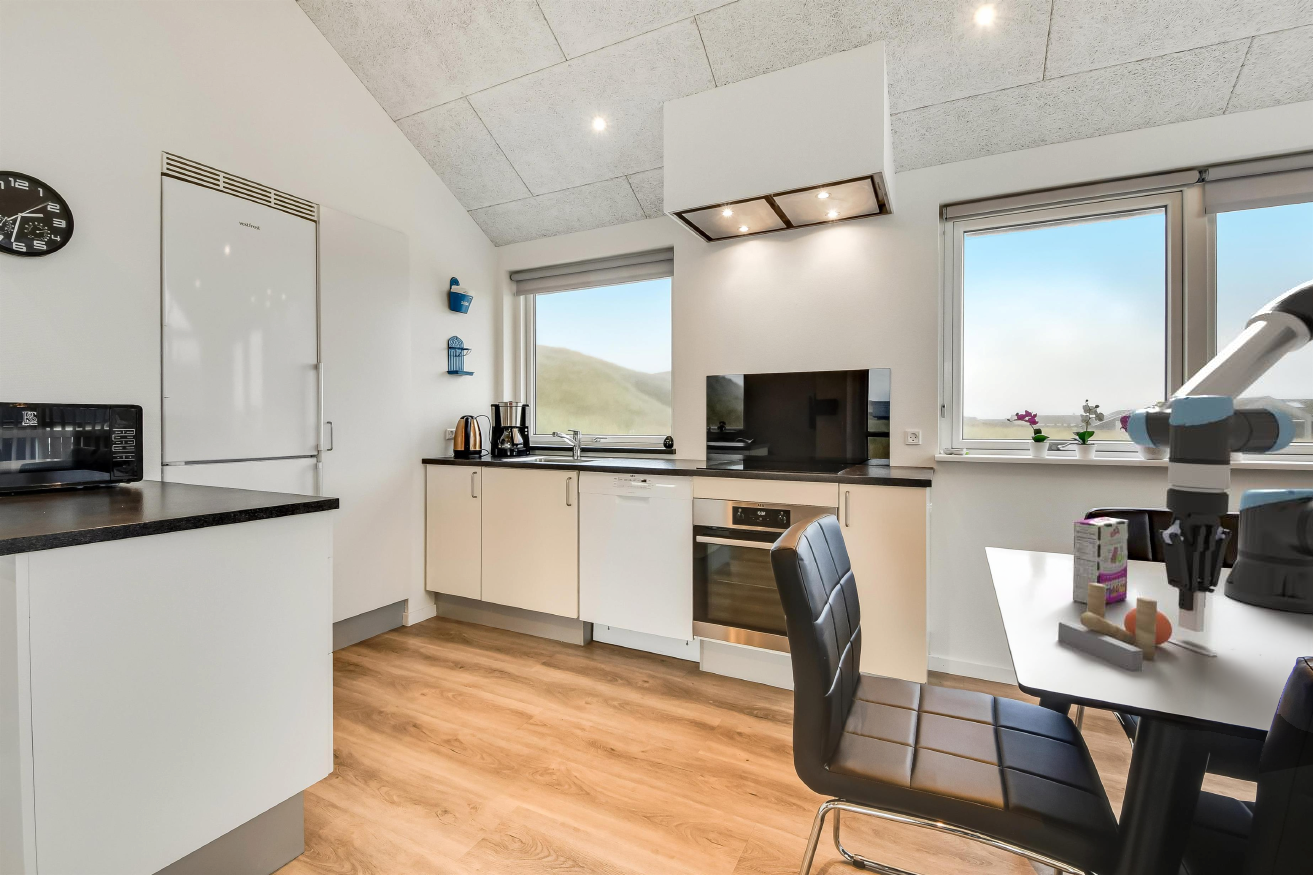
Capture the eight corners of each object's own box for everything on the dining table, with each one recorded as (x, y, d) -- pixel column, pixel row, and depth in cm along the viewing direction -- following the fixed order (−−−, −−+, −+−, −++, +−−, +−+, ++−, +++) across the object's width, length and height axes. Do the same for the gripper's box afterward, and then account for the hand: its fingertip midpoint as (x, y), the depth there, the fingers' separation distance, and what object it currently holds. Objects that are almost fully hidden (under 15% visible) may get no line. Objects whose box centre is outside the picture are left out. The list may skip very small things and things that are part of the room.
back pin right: (1093, 634, 98) (1095, 582, 98) (1107, 639, 96) (1109, 586, 96) (1082, 635, 98) (1084, 583, 98) (1095, 640, 96) (1098, 587, 95)
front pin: (1123, 629, 95) (1083, 610, 93) (1138, 635, 92) (1097, 615, 91) (1117, 643, 95) (1077, 623, 93) (1132, 649, 92) (1092, 629, 90)
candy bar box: (1099, 592, 122) (1102, 516, 121) (1127, 599, 117) (1130, 520, 117) (1070, 600, 117) (1073, 520, 116) (1098, 607, 112) (1101, 524, 112)
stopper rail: (1067, 638, 96) (1068, 621, 96) (1142, 669, 85) (1143, 649, 85) (1058, 639, 96) (1058, 621, 96) (1131, 671, 84) (1132, 650, 84)
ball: (1108, 619, 96) (1126, 644, 97) (1146, 632, 90) (1164, 659, 91) (1131, 594, 97) (1148, 619, 98) (1170, 606, 91) (1187, 633, 92)
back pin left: (1142, 653, 91) (1144, 597, 90) (1158, 659, 88) (1161, 602, 88) (1130, 654, 90) (1132, 598, 90) (1146, 661, 88) (1148, 603, 87)
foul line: (1137, 628, 102) (1137, 626, 102) (1216, 656, 90) (1216, 654, 90) (1131, 628, 101) (1131, 627, 101) (1210, 656, 90) (1210, 655, 90)
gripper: (1201, 485, 100) (1195, 618, 101) (1142, 486, 98) (1136, 623, 99) (1254, 490, 93) (1247, 634, 94) (1192, 492, 90) (1185, 640, 91)
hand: (1190, 628), depth 96 cm, fingers closed
